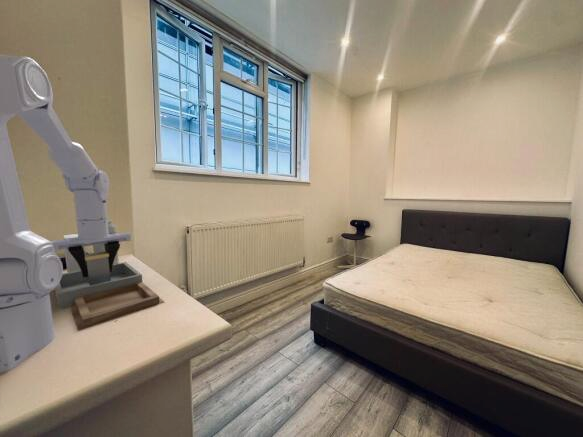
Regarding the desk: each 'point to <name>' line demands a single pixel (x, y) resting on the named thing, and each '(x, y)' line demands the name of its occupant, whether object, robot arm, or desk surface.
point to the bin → (78, 286)
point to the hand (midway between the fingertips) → (97, 273)
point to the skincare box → (70, 260)
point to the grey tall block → (97, 267)
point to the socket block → (112, 304)
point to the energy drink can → (101, 246)
